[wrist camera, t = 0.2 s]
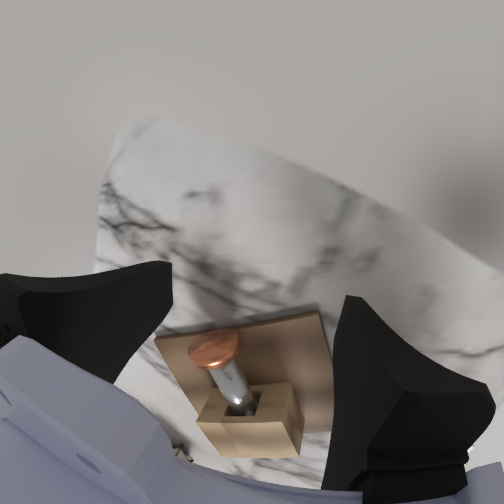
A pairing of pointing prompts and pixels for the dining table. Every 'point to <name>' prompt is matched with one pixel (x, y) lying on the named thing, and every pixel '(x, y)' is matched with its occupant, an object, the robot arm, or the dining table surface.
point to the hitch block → (263, 387)
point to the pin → (224, 368)
